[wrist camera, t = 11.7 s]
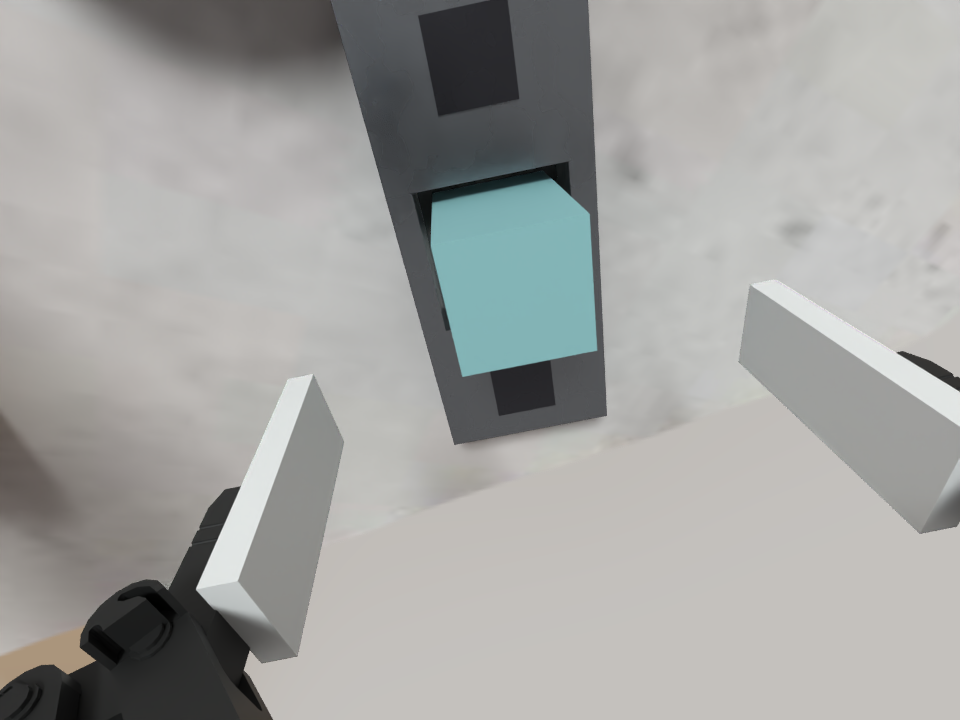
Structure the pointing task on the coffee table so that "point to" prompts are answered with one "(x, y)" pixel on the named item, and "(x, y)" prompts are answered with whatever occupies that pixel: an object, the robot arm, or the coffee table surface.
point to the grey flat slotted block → (480, 164)
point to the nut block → (514, 272)
